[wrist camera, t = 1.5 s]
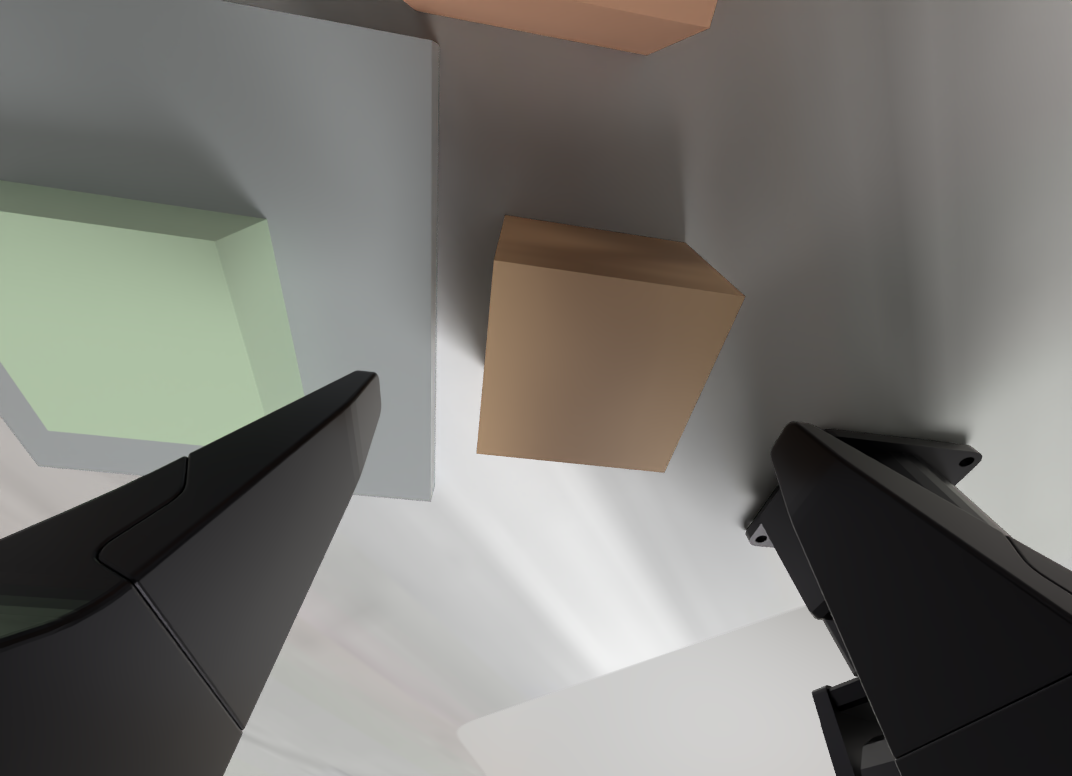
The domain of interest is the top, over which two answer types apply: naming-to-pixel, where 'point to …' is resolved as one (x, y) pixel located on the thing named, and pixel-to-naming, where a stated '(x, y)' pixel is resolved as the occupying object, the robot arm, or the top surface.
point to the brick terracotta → (587, 19)
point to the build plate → (251, 156)
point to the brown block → (597, 344)
